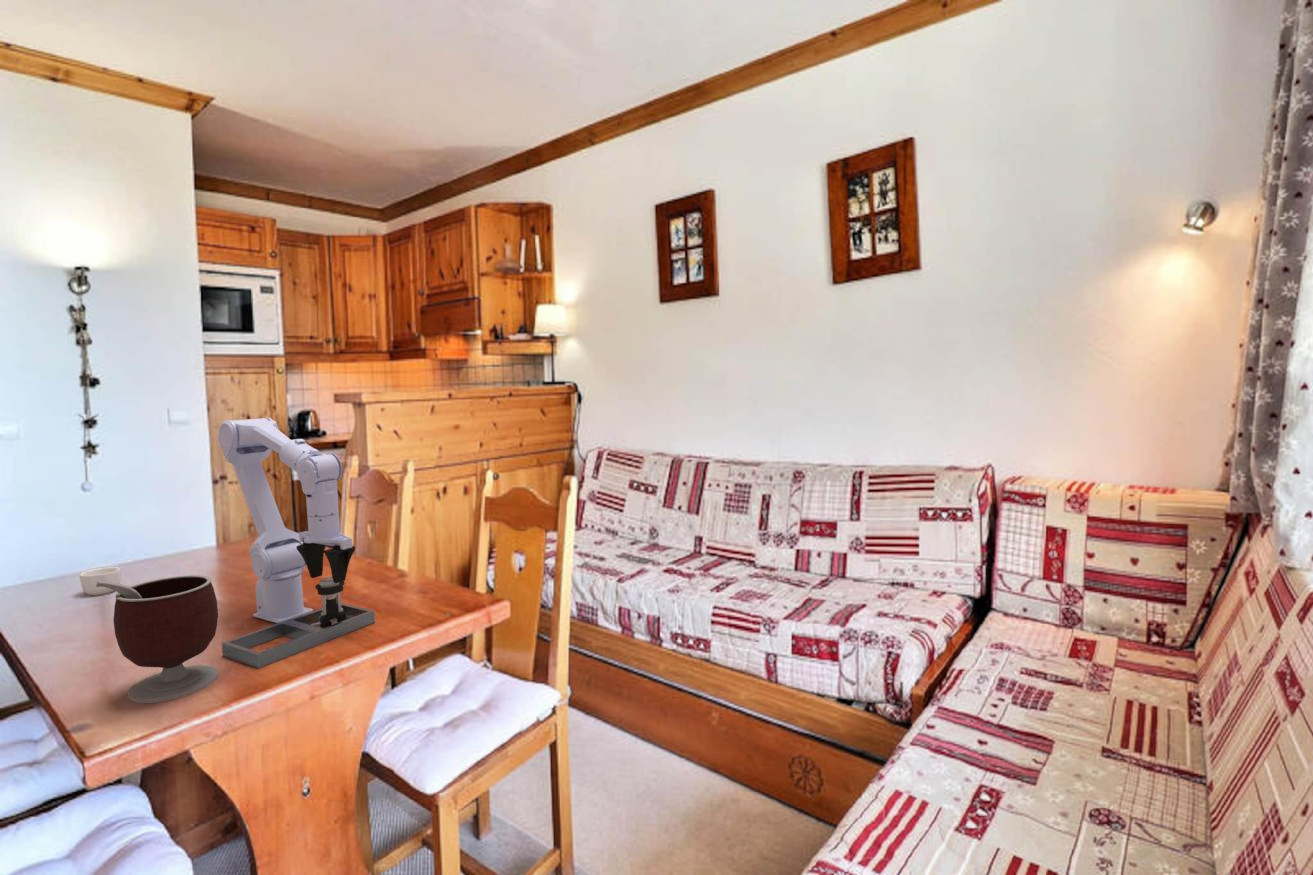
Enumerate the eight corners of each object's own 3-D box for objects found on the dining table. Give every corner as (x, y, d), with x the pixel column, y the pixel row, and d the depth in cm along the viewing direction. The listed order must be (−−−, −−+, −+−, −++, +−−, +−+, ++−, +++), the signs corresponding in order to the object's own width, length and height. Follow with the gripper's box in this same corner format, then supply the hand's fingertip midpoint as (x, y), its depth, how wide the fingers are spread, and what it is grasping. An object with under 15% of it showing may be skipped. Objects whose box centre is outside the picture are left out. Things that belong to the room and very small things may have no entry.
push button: (315, 635, 130) (311, 586, 129) (308, 628, 134) (304, 580, 133) (350, 626, 134) (347, 579, 133) (343, 619, 138) (339, 573, 137)
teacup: (124, 592, 161) (121, 570, 160) (82, 600, 156) (80, 578, 155) (119, 583, 168) (117, 563, 167) (79, 591, 163) (77, 569, 162)
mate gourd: (215, 659, 120) (205, 553, 118) (231, 684, 110) (220, 569, 108) (105, 688, 110) (93, 573, 108) (112, 719, 100) (98, 592, 98)
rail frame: (222, 655, 122) (221, 642, 121) (339, 613, 142) (339, 602, 142) (258, 668, 116) (257, 654, 116) (374, 622, 137) (373, 610, 137)
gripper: (282, 514, 132) (287, 579, 134) (327, 521, 125) (332, 590, 127) (315, 508, 138) (320, 570, 140) (359, 514, 131) (364, 579, 133)
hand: (327, 579), depth 134 cm, fingers open, 7 cm apart
